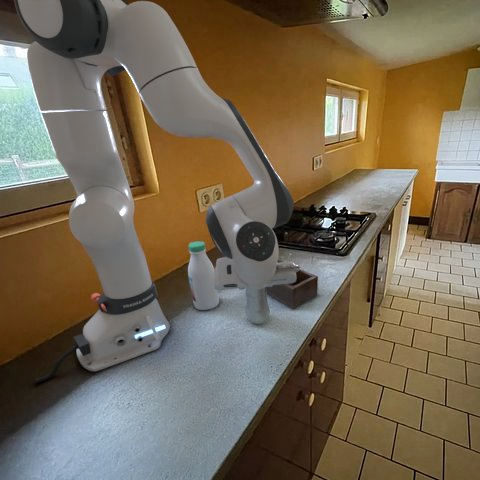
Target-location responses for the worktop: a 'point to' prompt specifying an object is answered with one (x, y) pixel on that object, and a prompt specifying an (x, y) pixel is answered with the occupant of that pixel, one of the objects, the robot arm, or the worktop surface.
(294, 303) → the bottle rack
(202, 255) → the milk bottle
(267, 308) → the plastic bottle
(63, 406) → the worktop surface
